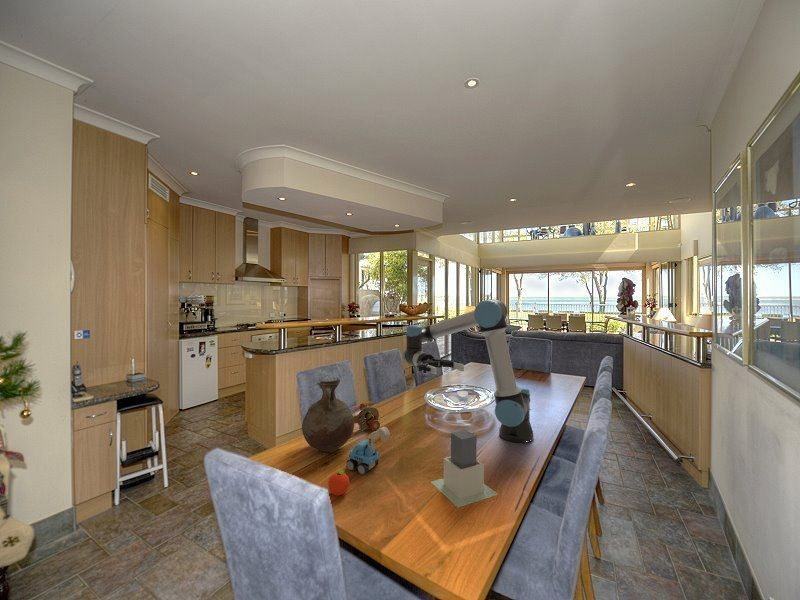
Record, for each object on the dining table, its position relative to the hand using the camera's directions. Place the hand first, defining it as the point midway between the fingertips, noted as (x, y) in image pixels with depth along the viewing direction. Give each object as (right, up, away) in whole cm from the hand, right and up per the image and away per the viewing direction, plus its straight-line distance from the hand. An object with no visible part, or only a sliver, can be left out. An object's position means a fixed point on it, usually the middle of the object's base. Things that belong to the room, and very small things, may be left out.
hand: (449, 369), depth 141 cm
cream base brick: (+1, -34, -26) cm, 43 cm away
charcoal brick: (+1, -26, -26) cm, 37 cm away
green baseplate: (+1, -35, -26) cm, 44 cm away
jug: (-51, -35, +5) cm, 62 cm away
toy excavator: (-32, -35, -13) cm, 50 cm away
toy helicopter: (-39, -35, +25) cm, 58 cm away
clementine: (-40, -35, -27) cm, 60 cm away
